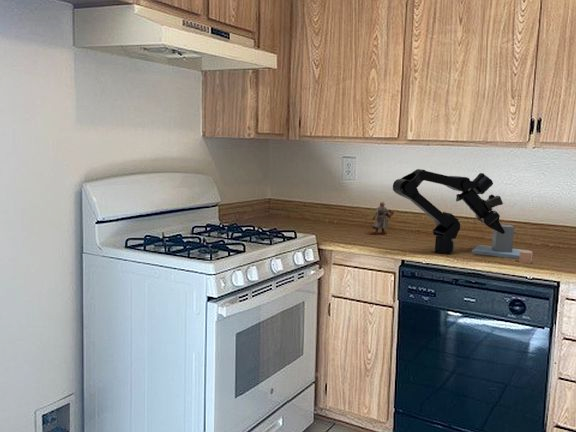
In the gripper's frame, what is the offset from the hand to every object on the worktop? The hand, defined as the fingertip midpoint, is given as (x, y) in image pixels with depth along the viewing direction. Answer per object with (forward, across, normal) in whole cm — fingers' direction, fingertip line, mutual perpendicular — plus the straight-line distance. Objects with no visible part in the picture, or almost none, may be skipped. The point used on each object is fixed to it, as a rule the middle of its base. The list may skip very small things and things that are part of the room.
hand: (501, 231), depth 220 cm
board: (+7, 0, +6) cm, 9 cm away
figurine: (-26, +34, +39) cm, 58 cm away
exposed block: (+11, -14, +2) cm, 18 cm away
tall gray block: (+6, 0, +5) cm, 8 cm away
